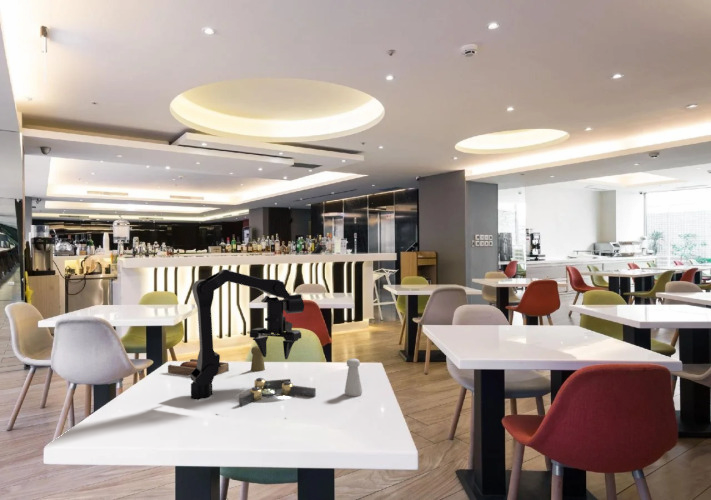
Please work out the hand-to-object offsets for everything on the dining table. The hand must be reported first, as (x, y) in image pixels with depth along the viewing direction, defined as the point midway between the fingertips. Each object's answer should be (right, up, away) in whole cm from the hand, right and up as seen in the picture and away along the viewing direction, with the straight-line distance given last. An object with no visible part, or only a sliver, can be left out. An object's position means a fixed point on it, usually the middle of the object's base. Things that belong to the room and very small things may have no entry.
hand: (275, 358), depth 164 cm
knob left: (0, -9, -5) cm, 11 cm away
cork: (-11, -12, +22) cm, 27 cm away
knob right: (+10, -9, -13) cm, 18 cm away
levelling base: (-2, -11, -13) cm, 17 cm away
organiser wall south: (-27, -12, +22) cm, 36 cm away
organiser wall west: (-39, -12, +21) cm, 46 cm away
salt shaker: (+28, -11, -12) cm, 33 cm away
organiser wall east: (-34, -12, +32) cm, 48 cm away
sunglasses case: (-35, -13, +27) cm, 46 cm away
